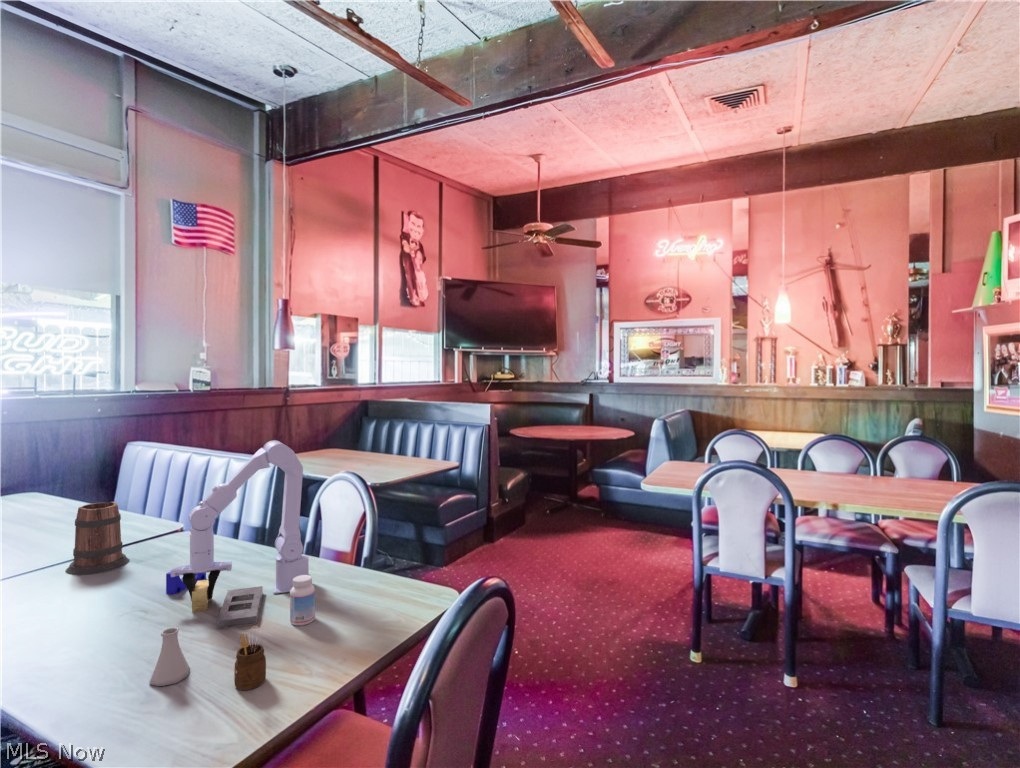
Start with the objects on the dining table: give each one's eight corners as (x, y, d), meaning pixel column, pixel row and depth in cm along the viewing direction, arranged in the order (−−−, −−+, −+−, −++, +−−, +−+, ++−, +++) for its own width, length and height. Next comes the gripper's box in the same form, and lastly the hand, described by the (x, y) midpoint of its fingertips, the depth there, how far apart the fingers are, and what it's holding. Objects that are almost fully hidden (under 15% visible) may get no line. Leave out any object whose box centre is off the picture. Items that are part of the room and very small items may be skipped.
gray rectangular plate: (262, 593, 156) (262, 586, 156) (256, 623, 137) (256, 615, 137) (227, 597, 153) (227, 590, 153) (216, 629, 134) (216, 621, 134)
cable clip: (193, 577, 167) (193, 558, 167) (206, 579, 166) (206, 560, 166) (161, 593, 156) (161, 573, 155) (175, 595, 155) (175, 574, 155)
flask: (161, 668, 117) (161, 623, 116) (196, 667, 117) (196, 622, 117) (141, 688, 110) (141, 639, 109) (178, 686, 110) (178, 638, 110)
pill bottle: (319, 617, 141) (320, 575, 141) (303, 628, 136) (304, 584, 135) (301, 614, 143) (301, 572, 143) (284, 624, 138) (284, 580, 137)
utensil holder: (270, 674, 115) (270, 619, 115) (257, 692, 109) (257, 633, 108) (242, 674, 115) (242, 619, 114) (228, 692, 108) (228, 633, 108)
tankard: (139, 563, 179) (139, 503, 178) (77, 579, 165) (77, 514, 164) (108, 549, 192) (108, 494, 191) (49, 563, 177) (48, 503, 177)
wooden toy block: (211, 598, 152) (211, 579, 152) (206, 610, 145) (206, 590, 145) (197, 600, 151) (197, 580, 151) (191, 612, 144) (191, 591, 144)
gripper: (233, 542, 154) (233, 589, 154) (174, 548, 149) (175, 596, 149) (230, 550, 147) (230, 599, 148) (168, 556, 142) (168, 607, 143)
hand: (202, 598), depth 148 cm, fingers closed on wooden toy block, 3 cm apart
